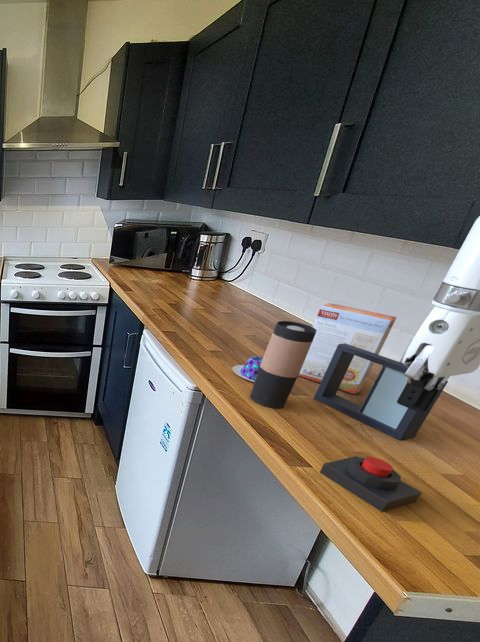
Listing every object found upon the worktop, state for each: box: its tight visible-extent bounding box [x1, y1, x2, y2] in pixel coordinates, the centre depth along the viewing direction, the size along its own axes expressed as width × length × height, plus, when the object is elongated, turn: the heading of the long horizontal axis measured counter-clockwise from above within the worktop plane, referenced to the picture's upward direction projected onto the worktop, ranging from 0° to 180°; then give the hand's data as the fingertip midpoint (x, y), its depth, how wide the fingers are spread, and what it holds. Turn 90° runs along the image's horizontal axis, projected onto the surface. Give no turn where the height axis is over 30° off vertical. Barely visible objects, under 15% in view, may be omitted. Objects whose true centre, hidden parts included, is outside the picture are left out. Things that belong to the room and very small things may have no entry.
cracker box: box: [298, 302, 398, 395], centre depth 107 cm, size 14×6×21 cm, turn 34°
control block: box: [319, 455, 423, 513], centre depth 72 cm, size 10×9×4 cm
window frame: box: [313, 343, 449, 441], centre depth 92 cm, size 18×5×15 cm, turn 17°
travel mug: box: [249, 320, 316, 409], centre depth 96 cm, size 8×8×20 cm
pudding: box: [232, 355, 264, 383], centre depth 111 cm, size 12×12×5 cm
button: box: [361, 456, 394, 478], centre depth 71 cm, size 4×4×2 cm
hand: (411, 406), depth 66 cm, fingers closed
